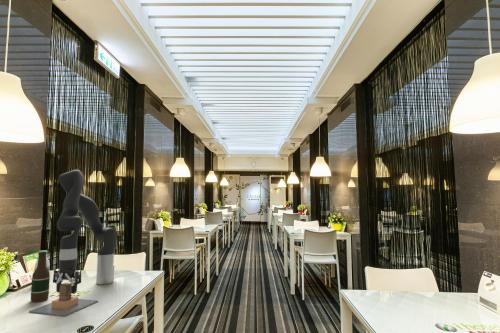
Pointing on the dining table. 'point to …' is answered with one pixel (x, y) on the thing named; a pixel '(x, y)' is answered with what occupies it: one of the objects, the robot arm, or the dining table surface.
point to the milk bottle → (46, 262)
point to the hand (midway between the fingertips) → (66, 292)
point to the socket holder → (63, 306)
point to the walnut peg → (65, 291)
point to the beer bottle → (40, 280)
